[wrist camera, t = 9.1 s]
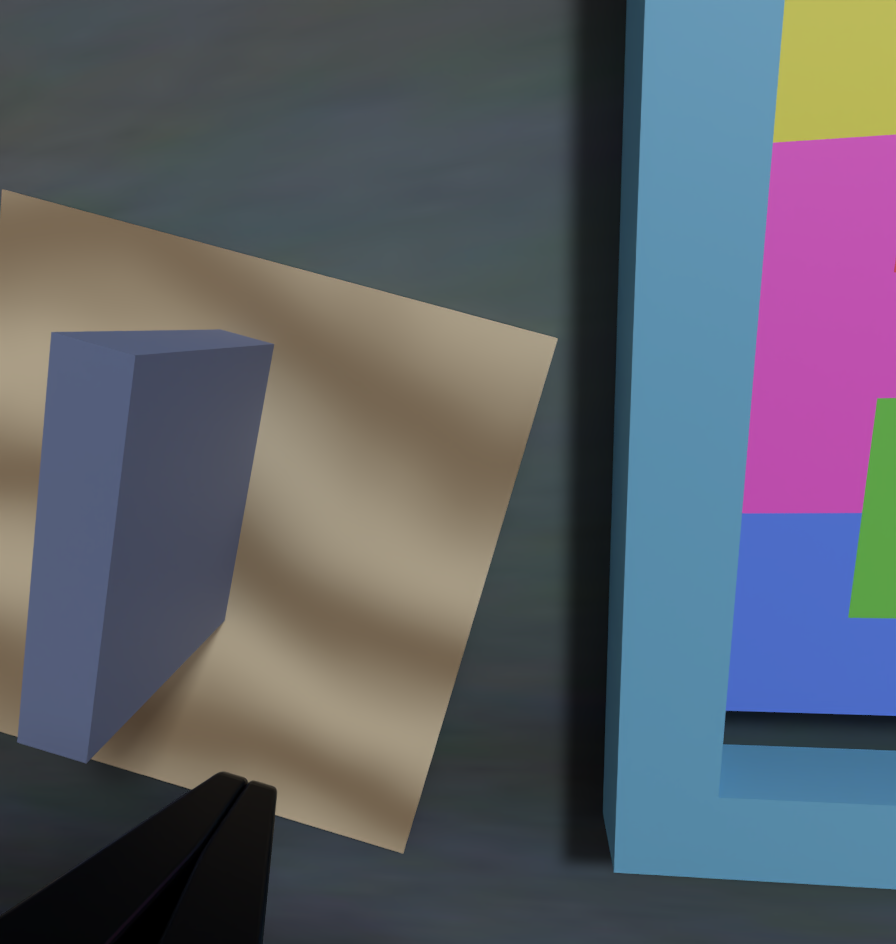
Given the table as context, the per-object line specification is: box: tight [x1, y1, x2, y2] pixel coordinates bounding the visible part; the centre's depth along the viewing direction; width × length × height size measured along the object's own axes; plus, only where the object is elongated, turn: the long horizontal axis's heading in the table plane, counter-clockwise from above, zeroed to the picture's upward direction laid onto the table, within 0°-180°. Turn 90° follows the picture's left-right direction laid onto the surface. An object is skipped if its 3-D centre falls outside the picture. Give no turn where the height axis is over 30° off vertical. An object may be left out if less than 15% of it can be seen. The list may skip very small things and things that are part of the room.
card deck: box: [17, 329, 274, 763], centre depth 15 cm, size 9×2×6 cm, turn 165°
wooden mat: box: [0, 189, 558, 853], centre depth 19 cm, size 18×16×1 cm
